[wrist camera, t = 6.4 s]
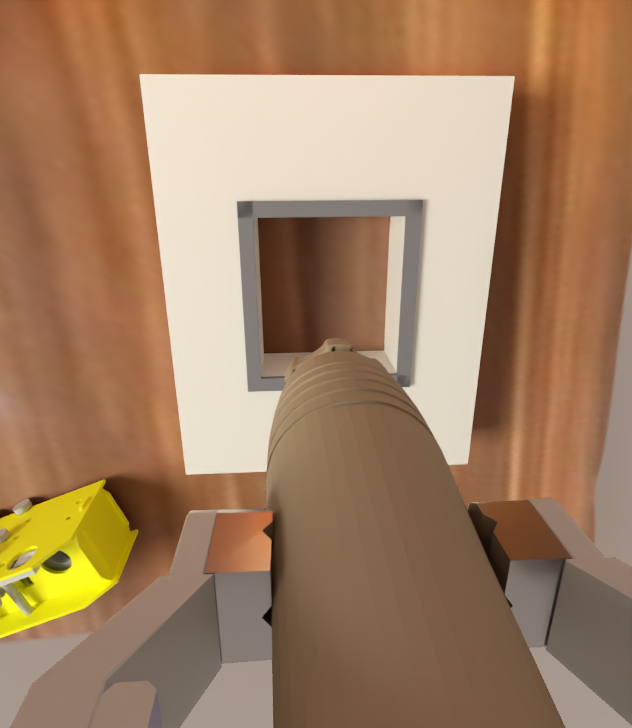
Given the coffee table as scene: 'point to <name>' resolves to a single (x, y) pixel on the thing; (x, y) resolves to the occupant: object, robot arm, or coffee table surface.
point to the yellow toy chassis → (60, 556)
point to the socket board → (322, 199)
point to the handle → (382, 567)
